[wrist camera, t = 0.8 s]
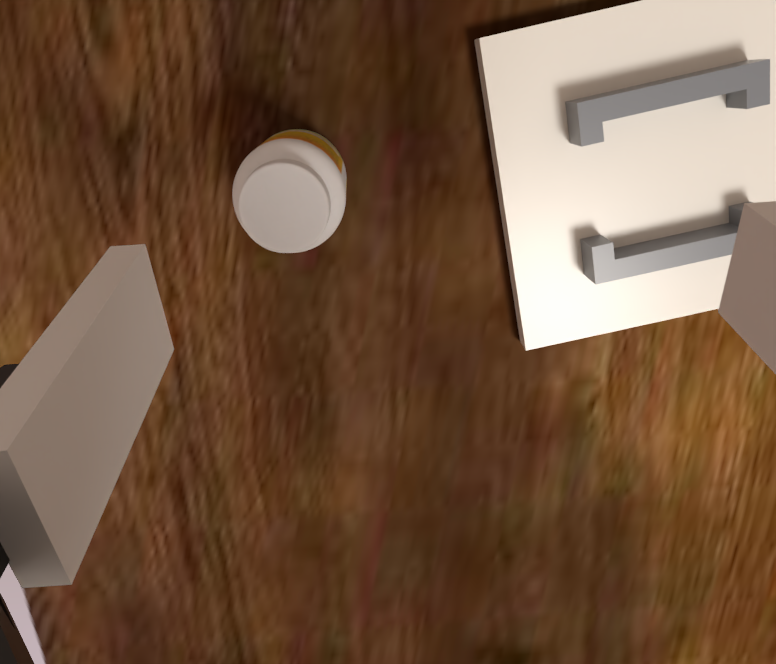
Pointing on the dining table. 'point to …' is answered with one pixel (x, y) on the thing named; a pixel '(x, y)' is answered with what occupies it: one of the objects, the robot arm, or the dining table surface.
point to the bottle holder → (628, 158)
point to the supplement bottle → (291, 191)
